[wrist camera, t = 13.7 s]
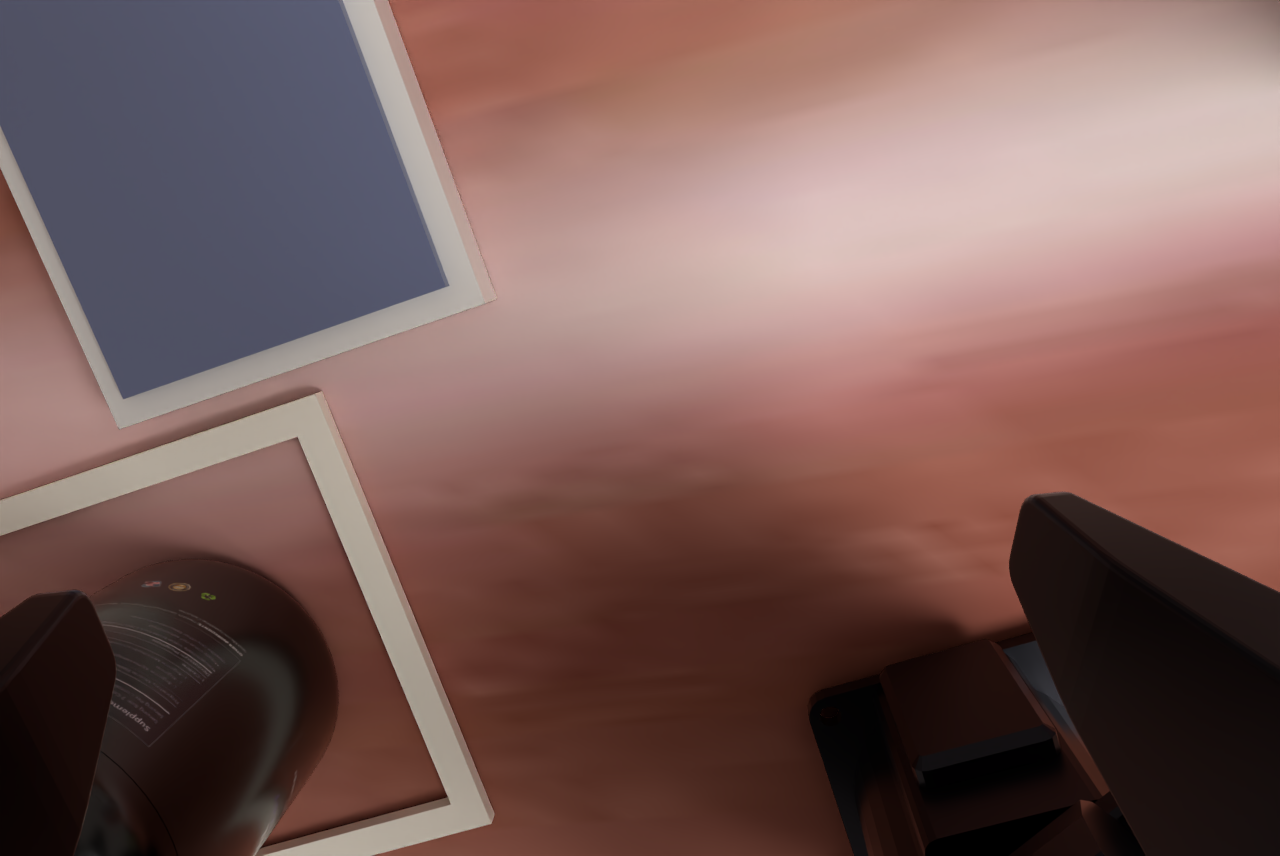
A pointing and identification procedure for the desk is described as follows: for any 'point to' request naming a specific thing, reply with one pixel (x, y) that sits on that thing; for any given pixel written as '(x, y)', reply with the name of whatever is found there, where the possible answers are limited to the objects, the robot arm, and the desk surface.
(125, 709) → the supplement bottle
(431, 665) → the marked square
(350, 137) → the ink pad
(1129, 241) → the desk surface
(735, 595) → the desk surface
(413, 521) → the desk surface
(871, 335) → the desk surface
